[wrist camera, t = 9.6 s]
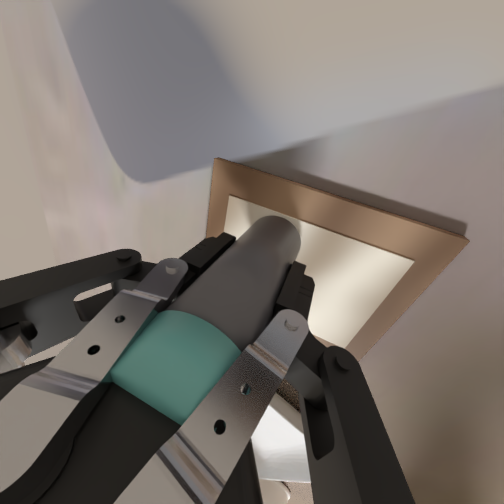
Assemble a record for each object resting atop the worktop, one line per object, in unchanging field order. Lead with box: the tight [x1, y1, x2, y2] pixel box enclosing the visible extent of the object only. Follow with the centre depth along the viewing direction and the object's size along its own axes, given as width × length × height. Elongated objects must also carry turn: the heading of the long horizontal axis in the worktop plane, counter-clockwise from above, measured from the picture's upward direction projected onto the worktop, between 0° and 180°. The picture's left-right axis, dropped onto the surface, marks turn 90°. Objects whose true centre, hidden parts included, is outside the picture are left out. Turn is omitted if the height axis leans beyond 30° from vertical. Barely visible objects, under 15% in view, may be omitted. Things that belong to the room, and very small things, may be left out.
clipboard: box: [206, 158, 470, 362], centre depth 16 cm, size 15×13×1 cm
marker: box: [110, 215, 301, 431], centre depth 10 cm, size 4×4×11 cm
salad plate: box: [251, 393, 311, 483], centre depth 29 cm, size 21×21×3 cm
